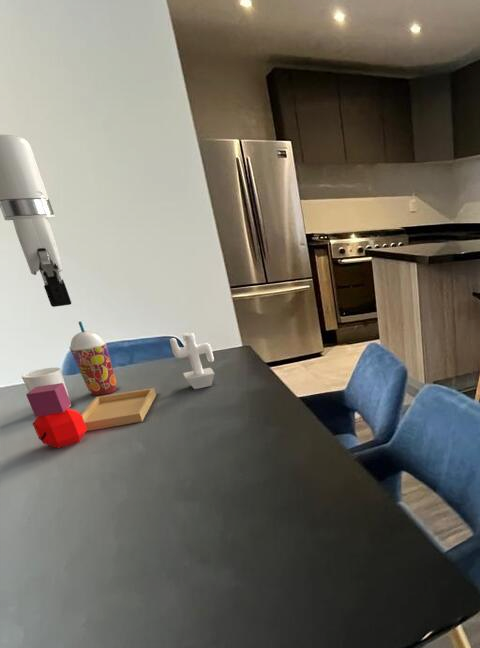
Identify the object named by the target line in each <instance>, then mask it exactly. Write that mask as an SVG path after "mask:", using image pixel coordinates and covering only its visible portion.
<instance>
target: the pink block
mask: <svg viewBox="0 0 480 648" xmlns="http://www.w3.org/2000/svg"><path fill="white" fill-rule="evenodd" d="M68 395H69V394H68ZM68 395H67V392H66V390H65V387H64V384H63V383H59V384H52V385H46V386H39V387H35V388H34V389H32V390H31V391H30V392H29V391H28V392H27V393H26V398H27V400H28V403H29V405H30V407H31V409H32V412H33V414H34V417H36V418H37V416H43V415H49V414H56V413H62V412H64V411H65V410H66V409H67V408H68V407H69V406H70V405H71V406H72V402H71V400H69V399H70V396H68ZM70 402H71V403H70ZM71 406H70V407H71ZM70 407H69V408H70Z"/></svg>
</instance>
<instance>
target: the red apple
mask: <svg viewBox="0 0 480 648" xmlns="http://www.w3.org/2000/svg"><path fill="white" fill-rule="evenodd" d="M81 414H82V413H80V412H79V411H78V410H75V409H72V408H70V407H69V408H67V409H66V410H65V411H64V412H62V413H56V414H49V415H43V416H37V417H36V418H35V420H34V421H33V422H32V426H33V427H34V431H35V433H36V435H37V437H38V439H39V440H40V441H41V443H42V444H44V445H47V446H50V447H53V448H57V449H60V448H64V447H67V446H70V445H73V444H77V443H80V442H81V440H82V439H83V437H84V435H85V434H86V432H88V431H87V428H86V425H85V422H84V420H83V417H82V415H81Z"/></svg>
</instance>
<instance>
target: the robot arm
mask: <svg viewBox="0 0 480 648" xmlns="http://www.w3.org/2000/svg"><path fill="white" fill-rule="evenodd" d="M49 198H50V197H49V195H48V193H47V190H46V187H45V183H44V181H43V178H42V175H41V172H40V169H39V167H38V164H37V161H36V158H35V154H34V152H33V149H32V147H31V145H30V143H29V141H28V140H26V139H25V138H24V137H21V136H18V135H14V134H13V135H12V134H0V210H1V213H2V216H3V219H4V221H12V222H13V226H14V230H15V233H16V236H17V239H18V241H19V244H20V247H21V250H22V252H23V255H24V258H25V261H26V263H27V266H28V268H29V271H30V274H31V275H33V276H37V274H38V273H37V272H40V275H41V278H42V280H43V284H44V285H43V287H44V290H45V293H46V296H47V298H48V301H49V304H50V306H51V307H53V308H56V307H63V306H69V305H70V306H71V305H72V300H71V297H70V295H69V292H68V289H67V286H66V283H65V281H64V279H62V276H61V274H60V273H61V272H63V264H62V260H61V255H60V252H59V249H58V244H57V242H56V239H55V236H54V232H53V229H52V227H51V224H50V221H49V219H53V218H54V219H55V218H56V215H55V214H54V209H53V207H52V204H51V201H50V199H49Z"/></svg>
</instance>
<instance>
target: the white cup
mask: <svg viewBox="0 0 480 648" xmlns="http://www.w3.org/2000/svg"><path fill="white" fill-rule="evenodd" d="M21 379H22V380H23V382H24V386H25V387H26V389H27V391H28V393H29V392H30V391H31V390H32V389H34V388H35V387H39V386H46V385H52V384H59V383H63V384H64V387H65V390H66V392H67V395H68V397H70V395H69V392H68V388H67V385H66V382H65V379H64V375H63V373H62V370H61V368H60V367H47V368H41V369H36V370H31V371H28V372H26V373H23V374H22V375H21ZM69 400H70V398H69ZM70 403H71V405H70V406H69V407H68V408H70V407H71V406H72V402H71V400H70Z"/></svg>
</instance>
